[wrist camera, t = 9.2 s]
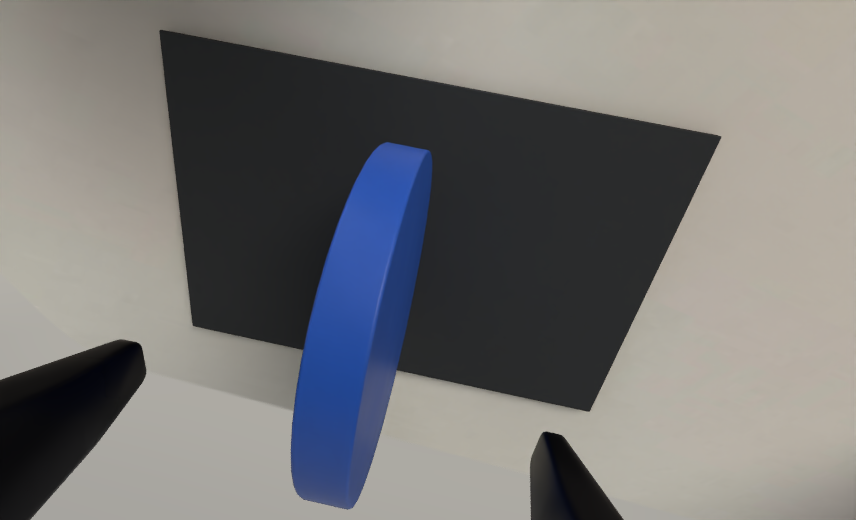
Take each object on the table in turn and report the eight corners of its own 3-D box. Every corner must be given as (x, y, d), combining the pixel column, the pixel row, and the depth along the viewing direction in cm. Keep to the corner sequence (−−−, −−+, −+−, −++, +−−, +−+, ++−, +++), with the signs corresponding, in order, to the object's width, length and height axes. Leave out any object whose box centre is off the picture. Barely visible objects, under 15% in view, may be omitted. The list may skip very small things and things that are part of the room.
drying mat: (587, 405, 19) (589, 412, 19) (197, 321, 20) (192, 326, 20) (716, 135, 14) (722, 136, 13) (166, 30, 14) (158, 29, 14)
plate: (443, 128, 14) (379, 222, 5) (404, 345, 19) (334, 598, 10) (410, 121, 14) (292, 204, 5) (380, 339, 19) (287, 587, 10)
